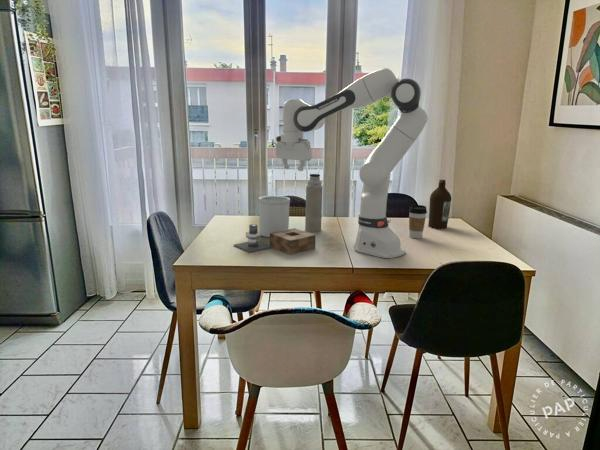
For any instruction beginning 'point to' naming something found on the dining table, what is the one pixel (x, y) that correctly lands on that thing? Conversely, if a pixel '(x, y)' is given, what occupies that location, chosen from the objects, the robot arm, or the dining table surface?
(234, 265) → the dining table surface
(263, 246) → the mat
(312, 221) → the thermos bottle
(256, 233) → the end cover
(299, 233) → the socket block
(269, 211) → the utensil holder
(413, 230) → the coffee cup
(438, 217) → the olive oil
